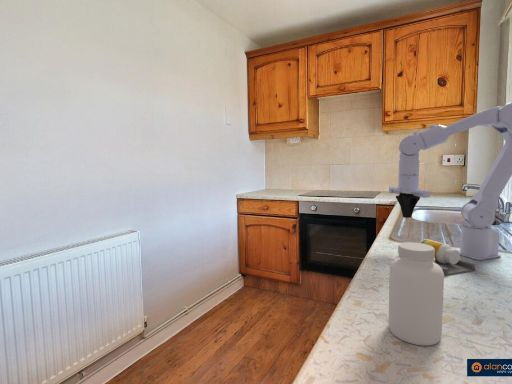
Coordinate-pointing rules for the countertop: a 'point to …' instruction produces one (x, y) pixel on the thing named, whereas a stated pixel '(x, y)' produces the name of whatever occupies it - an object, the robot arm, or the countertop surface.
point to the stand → (456, 267)
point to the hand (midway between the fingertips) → (407, 217)
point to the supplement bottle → (443, 252)
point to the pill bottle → (416, 295)
